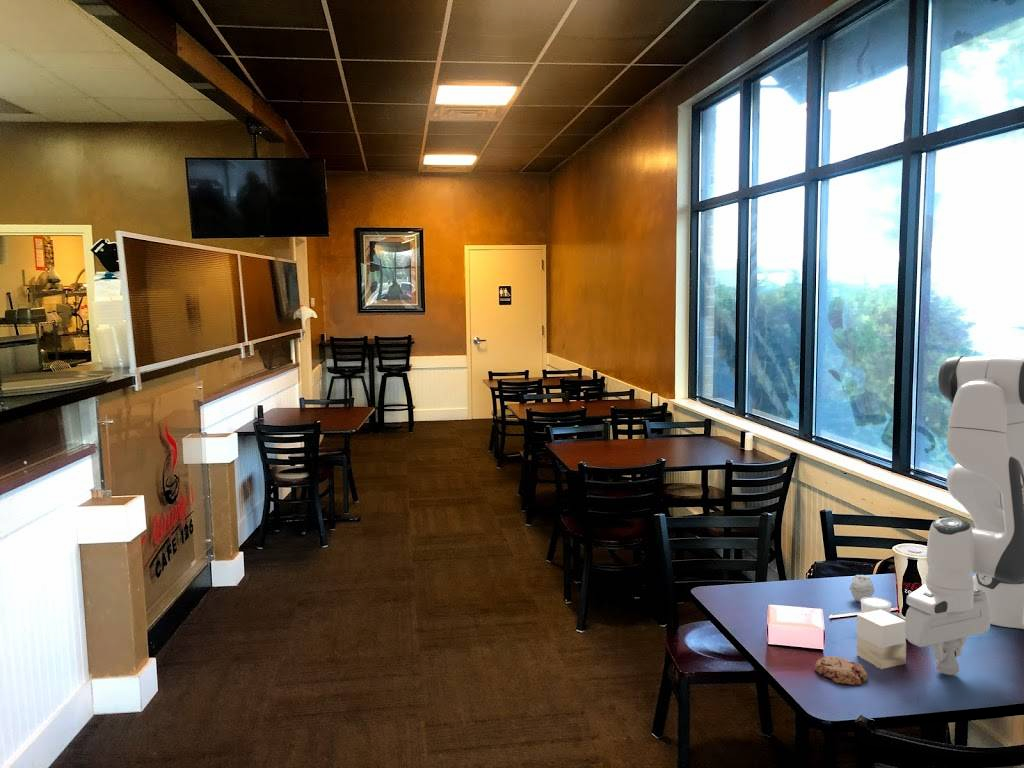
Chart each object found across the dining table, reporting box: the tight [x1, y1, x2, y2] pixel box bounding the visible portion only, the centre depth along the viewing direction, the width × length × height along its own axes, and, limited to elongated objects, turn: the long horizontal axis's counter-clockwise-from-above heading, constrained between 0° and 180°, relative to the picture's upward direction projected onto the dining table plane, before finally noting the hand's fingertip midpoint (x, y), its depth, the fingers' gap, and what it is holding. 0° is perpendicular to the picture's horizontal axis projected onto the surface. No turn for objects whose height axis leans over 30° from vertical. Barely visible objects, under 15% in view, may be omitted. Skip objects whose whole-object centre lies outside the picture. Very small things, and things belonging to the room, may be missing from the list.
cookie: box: [814, 656, 868, 686], centre depth 164 cm, size 10×11×3 cm
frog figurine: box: [849, 574, 875, 603], centre depth 203 cm, size 6×7×7 cm
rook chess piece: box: [935, 639, 960, 676], centre depth 162 cm, size 4×4×8 cm
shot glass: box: [860, 596, 892, 614], centre depth 186 cm, size 7×7×7 cm
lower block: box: [856, 635, 907, 670], centre depth 170 cm, size 7×7×5 cm
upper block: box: [856, 610, 907, 648], centre depth 170 cm, size 7×7×5 cm
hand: (947, 657), depth 163 cm, fingers closed on rook chess piece, 3 cm apart
